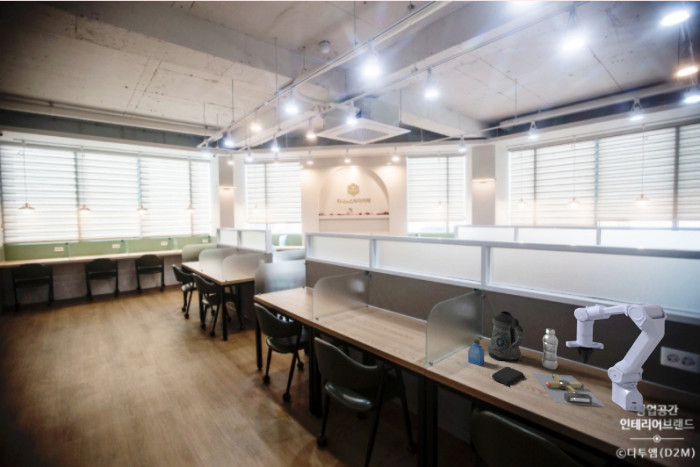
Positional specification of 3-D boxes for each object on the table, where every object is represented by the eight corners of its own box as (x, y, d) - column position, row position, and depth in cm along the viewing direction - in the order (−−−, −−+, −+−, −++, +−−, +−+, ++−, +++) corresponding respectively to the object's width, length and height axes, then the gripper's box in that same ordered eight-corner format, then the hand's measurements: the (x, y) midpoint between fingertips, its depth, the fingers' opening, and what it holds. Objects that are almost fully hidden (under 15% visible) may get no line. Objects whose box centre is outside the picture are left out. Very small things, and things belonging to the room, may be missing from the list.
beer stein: (494, 347, 178) (494, 306, 177) (531, 358, 164) (531, 313, 163) (483, 356, 167) (483, 312, 165) (521, 368, 153) (522, 320, 152)
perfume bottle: (484, 361, 161) (484, 339, 160) (480, 366, 156) (480, 343, 156) (472, 358, 165) (472, 336, 164) (468, 362, 160) (468, 340, 160)
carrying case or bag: (512, 389, 135) (528, 379, 143) (512, 383, 135) (528, 373, 143) (490, 379, 143) (505, 370, 152) (490, 373, 143) (506, 364, 152)
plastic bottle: (543, 363, 158) (544, 326, 157) (558, 368, 153) (559, 329, 152) (540, 368, 153) (540, 329, 152) (556, 372, 148) (556, 333, 147)
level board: (605, 408, 120) (605, 406, 120) (556, 404, 123) (556, 402, 123) (571, 377, 144) (571, 375, 144) (530, 374, 147) (530, 373, 147)
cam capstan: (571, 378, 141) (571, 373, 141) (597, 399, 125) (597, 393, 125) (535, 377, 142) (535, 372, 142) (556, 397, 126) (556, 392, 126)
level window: (593, 405, 121) (593, 398, 121) (568, 403, 122) (568, 397, 122) (588, 400, 124) (588, 394, 124) (564, 398, 126) (564, 392, 125)
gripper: (596, 331, 141) (595, 359, 142) (562, 329, 144) (562, 357, 144) (606, 337, 134) (606, 366, 135) (571, 335, 137) (570, 364, 137)
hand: (584, 362), depth 139 cm, fingers closed
